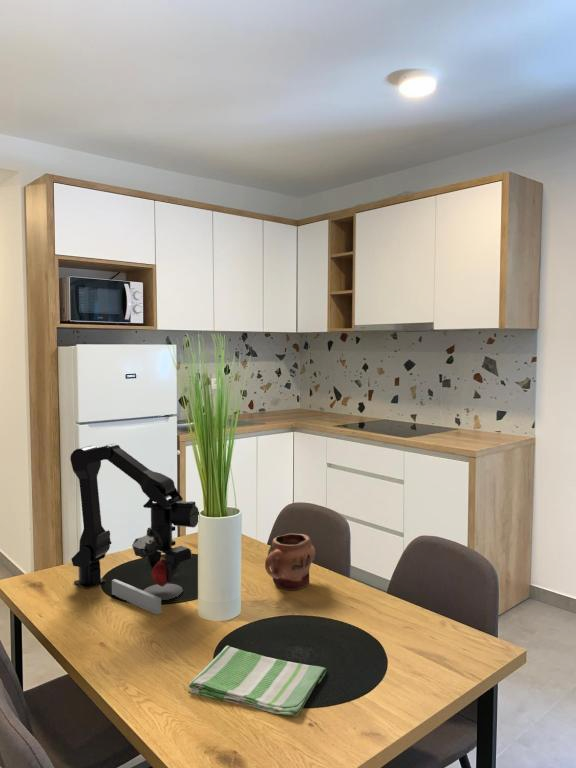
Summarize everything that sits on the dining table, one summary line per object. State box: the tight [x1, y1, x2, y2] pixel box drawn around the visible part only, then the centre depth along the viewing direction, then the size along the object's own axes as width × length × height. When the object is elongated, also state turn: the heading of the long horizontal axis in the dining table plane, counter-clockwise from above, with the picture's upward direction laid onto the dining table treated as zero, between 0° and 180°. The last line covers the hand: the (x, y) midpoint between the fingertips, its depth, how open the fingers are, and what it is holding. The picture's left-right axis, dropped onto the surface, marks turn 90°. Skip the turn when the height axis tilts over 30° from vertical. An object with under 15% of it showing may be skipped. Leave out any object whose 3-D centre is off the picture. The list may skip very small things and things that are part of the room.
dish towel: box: [187, 645, 327, 717], centre depth 123 cm, size 18×23×3 cm
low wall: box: [111, 578, 162, 616], centre depth 161 cm, size 20×1×4 cm, turn 50°
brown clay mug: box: [264, 533, 316, 591], centre depth 172 cm, size 20×12×14 cm, turn 147°
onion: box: [150, 556, 169, 586], centre depth 168 cm, size 6×6×8 cm
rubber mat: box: [142, 582, 184, 602], centre depth 168 cm, size 11×11×1 cm
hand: (162, 579), depth 168 cm, fingers closed on onion, 6 cm apart
